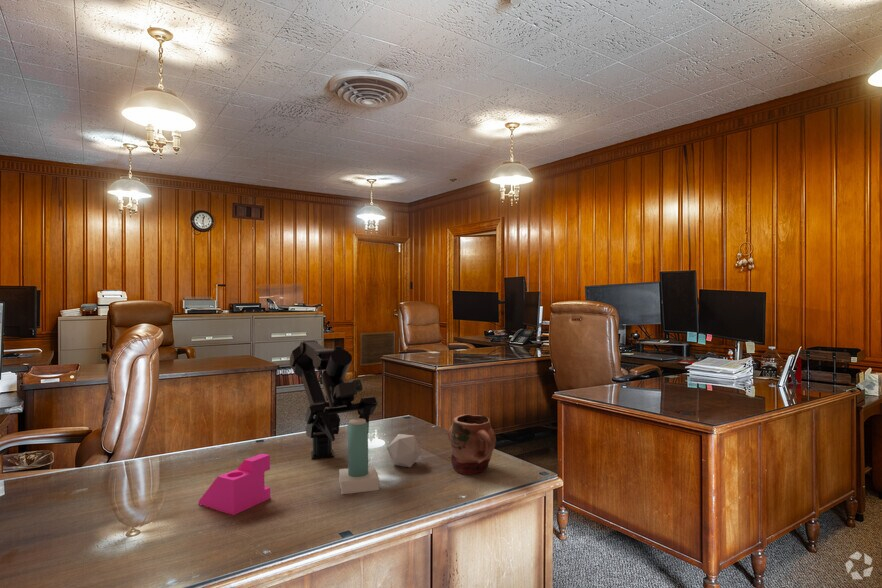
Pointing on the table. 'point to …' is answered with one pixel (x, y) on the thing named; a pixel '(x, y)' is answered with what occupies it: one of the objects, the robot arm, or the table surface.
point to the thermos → (357, 447)
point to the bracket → (239, 487)
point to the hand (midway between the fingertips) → (350, 437)
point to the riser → (358, 481)
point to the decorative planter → (471, 443)
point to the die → (404, 450)
